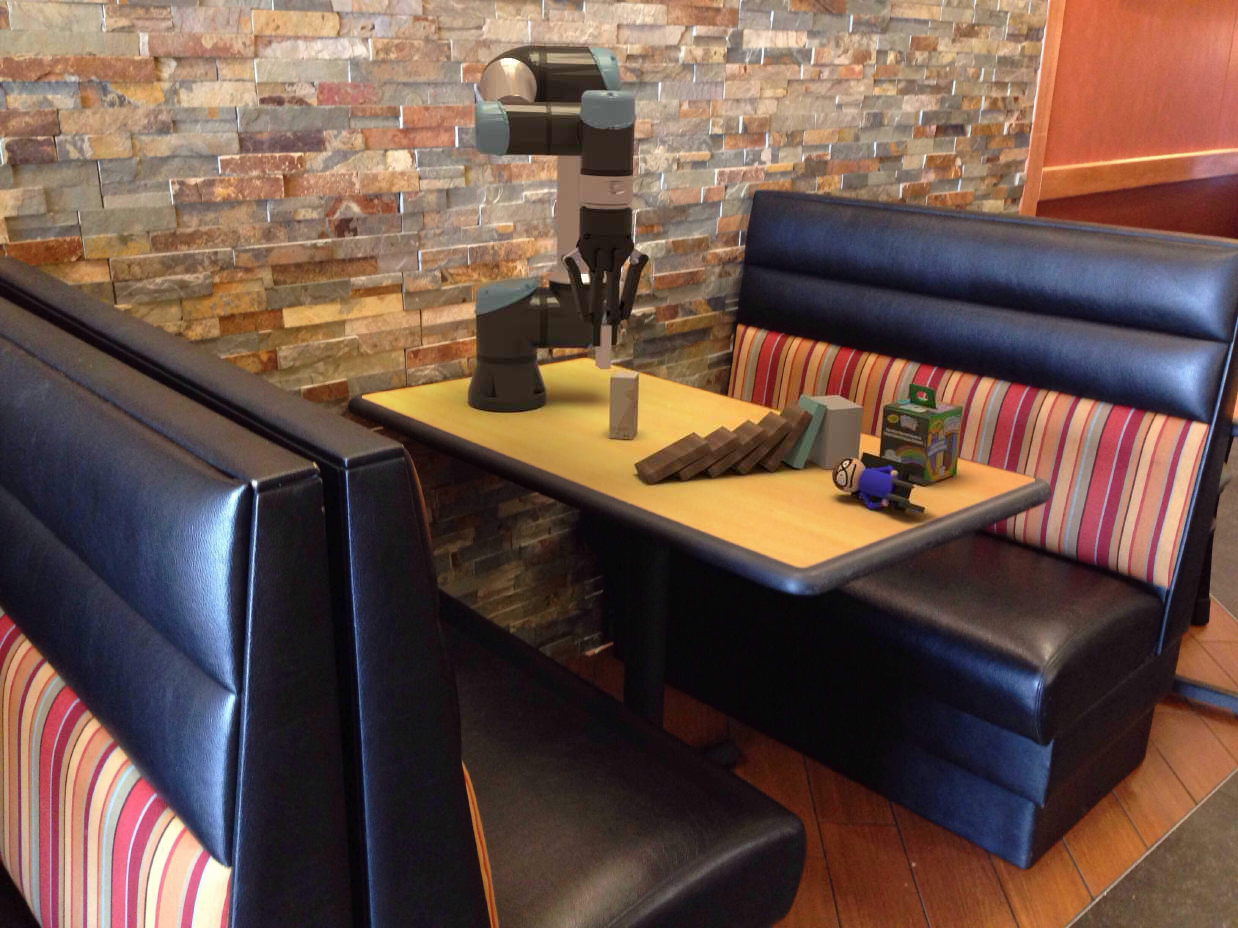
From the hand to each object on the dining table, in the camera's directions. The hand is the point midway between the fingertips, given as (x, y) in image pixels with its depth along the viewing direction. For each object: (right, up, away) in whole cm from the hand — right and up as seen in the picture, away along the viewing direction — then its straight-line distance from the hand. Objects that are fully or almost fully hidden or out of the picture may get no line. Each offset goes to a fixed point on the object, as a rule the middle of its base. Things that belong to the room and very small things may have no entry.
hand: (603, 366), depth 163 cm
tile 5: (+25, -15, +14) cm, 32 cm away
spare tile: (+30, -14, +16) cm, 37 cm away
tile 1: (+6, -16, +7) cm, 19 cm away
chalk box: (+50, -16, +13) cm, 54 cm away
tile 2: (+11, -16, +9) cm, 21 cm away
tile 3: (+16, -15, +11) cm, 24 cm away
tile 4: (+21, -15, +12) cm, 28 cm away
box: (+3, -10, +30) cm, 31 cm away
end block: (+37, -14, +18) cm, 44 cm away
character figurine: (+41, -21, -2) cm, 46 cm away
